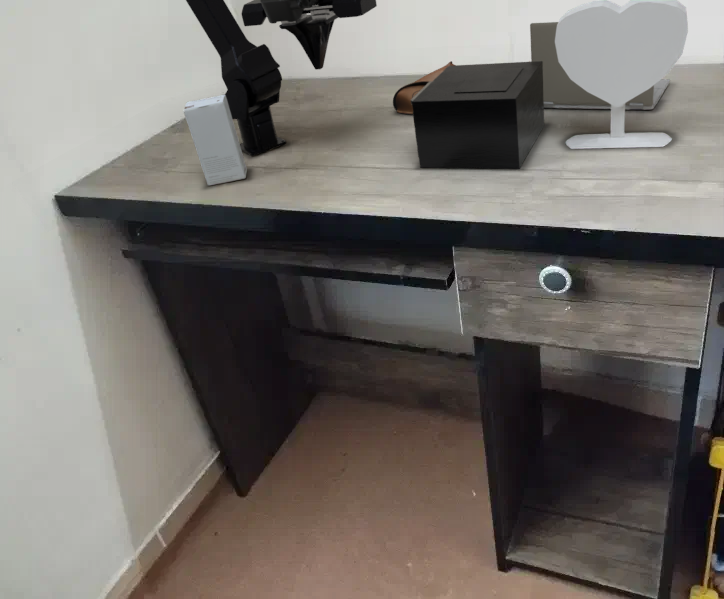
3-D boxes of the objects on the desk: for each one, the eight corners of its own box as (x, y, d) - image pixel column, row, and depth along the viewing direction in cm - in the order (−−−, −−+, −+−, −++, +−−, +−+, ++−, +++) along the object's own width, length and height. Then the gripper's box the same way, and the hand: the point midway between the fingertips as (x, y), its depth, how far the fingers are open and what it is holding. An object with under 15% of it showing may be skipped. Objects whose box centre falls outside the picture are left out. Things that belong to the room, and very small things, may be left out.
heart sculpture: (679, 132, 97) (689, -10, 88) (679, 146, 93) (690, -1, 84) (560, 135, 103) (558, 2, 94) (556, 149, 99) (553, 11, 90)
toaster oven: (414, 167, 102) (405, 101, 97) (448, 126, 114) (442, 65, 109) (519, 169, 95) (515, 97, 90) (544, 125, 107) (542, 60, 102)
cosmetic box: (247, 169, 112) (227, 92, 106) (246, 180, 108) (225, 101, 102) (208, 176, 112) (186, 100, 106) (205, 187, 108) (182, 109, 102)
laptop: (670, 83, 114) (676, -4, 107) (652, 111, 105) (657, 18, 98) (557, 83, 123) (556, 2, 116) (532, 109, 114) (529, 23, 107)
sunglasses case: (434, 113, 118) (413, 77, 117) (407, 131, 124) (386, 97, 123) (489, 79, 129) (470, 46, 128) (462, 97, 135) (444, 65, 134)
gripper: (206, -29, 95) (236, 89, 103) (333, -45, 87) (354, 83, 95) (250, -45, 103) (274, 65, 111) (368, -61, 95) (386, 59, 104)
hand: (319, 68), depth 105 cm, fingers closed
